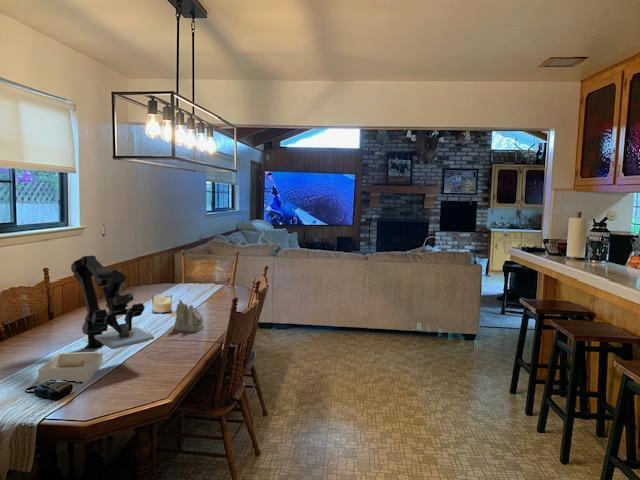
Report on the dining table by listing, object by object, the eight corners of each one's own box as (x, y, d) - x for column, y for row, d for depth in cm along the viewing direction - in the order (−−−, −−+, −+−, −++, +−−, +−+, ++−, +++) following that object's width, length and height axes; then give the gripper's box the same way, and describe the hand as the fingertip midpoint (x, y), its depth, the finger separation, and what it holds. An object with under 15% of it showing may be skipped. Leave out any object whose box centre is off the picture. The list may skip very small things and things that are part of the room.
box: (58, 365, 170) (58, 353, 169) (103, 364, 172) (102, 351, 172) (38, 383, 154) (38, 369, 153) (87, 381, 156) (87, 367, 156)
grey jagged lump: (195, 333, 212) (195, 301, 212) (167, 329, 218) (167, 299, 217) (214, 326, 227) (214, 297, 226) (187, 323, 232) (187, 295, 232)
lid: (94, 340, 171) (94, 324, 170) (135, 331, 182) (135, 316, 182) (111, 351, 160) (110, 334, 159) (153, 341, 171) (153, 325, 171)
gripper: (93, 289, 165) (105, 325, 158) (142, 283, 178) (155, 315, 172) (86, 306, 171) (98, 341, 165) (134, 299, 184) (146, 330, 178)
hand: (125, 331), depth 170 cm, fingers closed on lid, 4 cm apart
